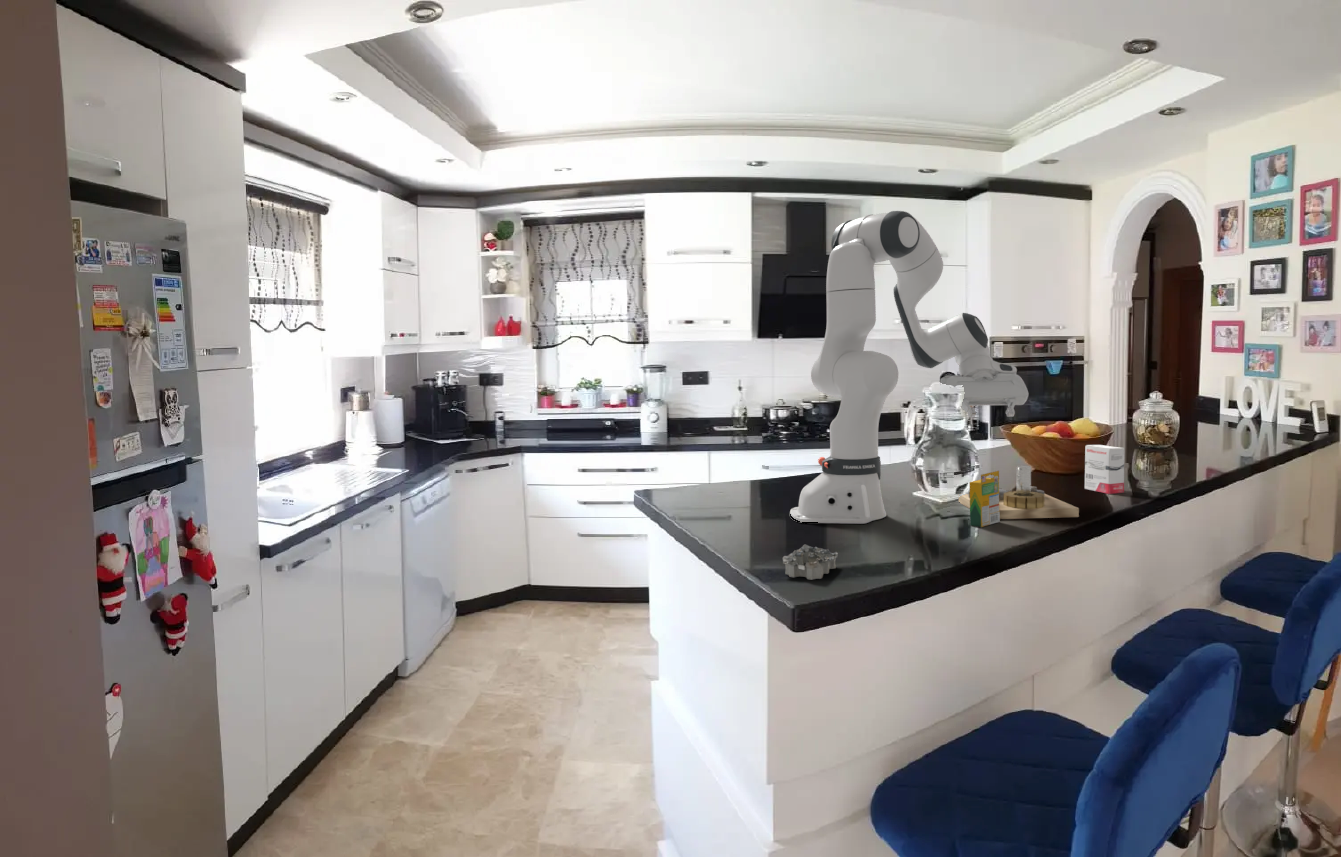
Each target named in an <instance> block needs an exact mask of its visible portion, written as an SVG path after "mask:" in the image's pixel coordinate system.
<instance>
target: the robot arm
mask: <svg viewBox="0 0 1341 857" xmlns="http://www.w3.org/2000/svg"><path fill="white" fill-rule="evenodd" d="M831 237H832V238H831V245H830V246H831V251H830V253H829V257H828V260H827V262H828V263H827V268H826V269H827V271H826V279H825V280H826V281H825V282H826V283H825V284H826V285H825V286H826V287H825V288H826V289H825V290H826V292H825V293H826V294H825V295H826V327H825V328H826V329H825V334H824V340H823V344H822V347H821V351H820V354H819V356H818V357H817V359H816V360H815V361H814V363H813V364H812V366H811V371H810V380H811V381H812V384H813V386H814V387H815V389H816V390H818V391H819V392H821V393H823V394H824V395H827V396H830V397H834V398H840V399H841V400H840V405H839V409H838V412H837V415H836V416H835V417H834V419H832V421H831V422H830V425H829V444H830V445H829V448H830V449H829V450H830V451H829V454H830V456H828V457H826V458H825V457H824V456H821V457H819V458H818V459H817V463H818V464H819V465H820V466H821V471H822V472H821V473H820V474H819V475H818V476H816V477H815V478H813V480H811V481H810V482H808V483H807V484H806V485H805V486H804V487H803V488H802V489H801V491H800V494H799V498H798V506H795V507H792V508H791V509H790V511H789V515H790V514H791V516H792V517H793V518H794V519H796V520H798V521H800V522H799V523H802V522H818V523H817V524H861V525H863V524H867V523H870V522H872V521H877V520H881V519H883V518H885V517H887V512H886V510H885V506H884V501H883V497H882V491H881V490H882V489H881V482H880V480H881V477H882V462H881V461H882V460H881V456H879V423H880V418H881V414H882V411H883V407H884V404H885V401H886V400H887V398H888V396H889V395H890V394H891V393H892V392H893V391H894V389H895V388H896V386H897V384H898V381H899V368H898V365H897V363H896V362H895V360H894V359H893V358H892V357H890V356H889V355H887V354H885V353H881V352H877V351H874V350H864V349H865V343H866V342H867V338H868V336H869V334H870V332H871V331H872V330H873V328H874V327H875V325H876V320H877V319H876V318H877V316H876V315H877V314H876V313H877V312H876V305H877V304H876V280H875V271H874V266H875V263H881V262H886V261H889V262H890V265H892V268H893V270H894V271H895V273H896V276H897V279H896V280H897V281H896V283H895V286H894V287H893V297H894V301H895V302H894V303H895V306H896V308H897V311H898V314H899V317H900V320H901V322H902V325H903V329H904V331H905V334H906V337H907V340H908V342H909V347H910V352H911V356H912V358H913V360H914V361H915V363H916V364H917V365H918V366H920V367H923V368H927V369H933V368H935V367H936V366H939V365H941V364H942V363H944V362H945V361H948V360H951V359H952V358H954V359H955V362H956V363H957V365H958V372H959V374H957V375H950V374H949V375H944V376H943V377H940V379H939V384H940V383H942V384H946V385H954V386H956V385H963V386H962V387H964V392H965V394H964V399H963V402H962V406H960V408H961V409H962V410H963V411H964V412H965V413H967V416H968V418H975V417H976V414H977V411H976V408H975V407H973V406H977V407H979V406H1006V410H1005V414H1006V417H1009V418H1010V417H1014V416H1015V414H1016V411H1015V409H1014V408H1015V406H1023V405H1025V403H1026V402H1027V400H1028V398H1029V391H1028V388H1027V385H1026V383H1025V381H1024V380H1023V379H1022V378H1023V377H1021V376H1020V375H1019V374H1017V371H1018V369H1017V367H1016V366H1015V365H1011V364H1006V363H1003V362H998V361H996V360H994V359H993V358H992V357H991V350H990V347H989V344H988V342H989V338H988V335H987V332H986V329H985V327H984V325H983V323H982V322H981V320H980V318H978V316H976V315H973V314H970V313H968V312H962V313H960V314H959V313H958V314H957V315H955V316H952V317H950V318H947V319H946V320H945V321H942V322H940V323H937V324H936V325H934V326H931V327H930V328H927V329H925V328H922V325H921V323H920V320H919V318H918V314H917V311H916V307H917V305H919V302H920V301H921V300H922V299H923V298H924V296H926V295H927V294H928V293H929V292H930V291H931V290H932V289H933V288H934V287H935V286H936V285H937V283H938V281H939V280H940V279H941V276H942V273H943V270H944V261H943V258H942V256H941V253H940V251H939V249H938V247H937V245H936V243H935V242H934V239H933V238H932V237H931V236H930V234H929V233H928V231H927V229H925V227H924V226H923V225H922V224H921V223H920V222H919V221H918V219H917V218H915V217H914V216H913V215H912V214H910V213H909V212H907V211H904V210H892V211H889V212H883V213H876V214H868V215H867V214H866V215H864V216H860V217H858V218H855V219H850V220H847V221H845V222H842V223H841V224H840V225H839V226H837V227H836V228H835V230H834V231H833V233H832V236H831Z"/></svg>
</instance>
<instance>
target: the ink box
mask: <svg viewBox="0 0 1341 857" xmlns="http://www.w3.org/2000/svg"><path fill="white" fill-rule="evenodd" d="M1084 449H1085V451H1084V454H1085V455H1084V490H1089V491H1094V492H1099V493H1104V494H1108V495H1113V494H1122V493H1125V447H1119V446H1110V445H1103V444H1086V445H1085V448H1084Z"/></svg>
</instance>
